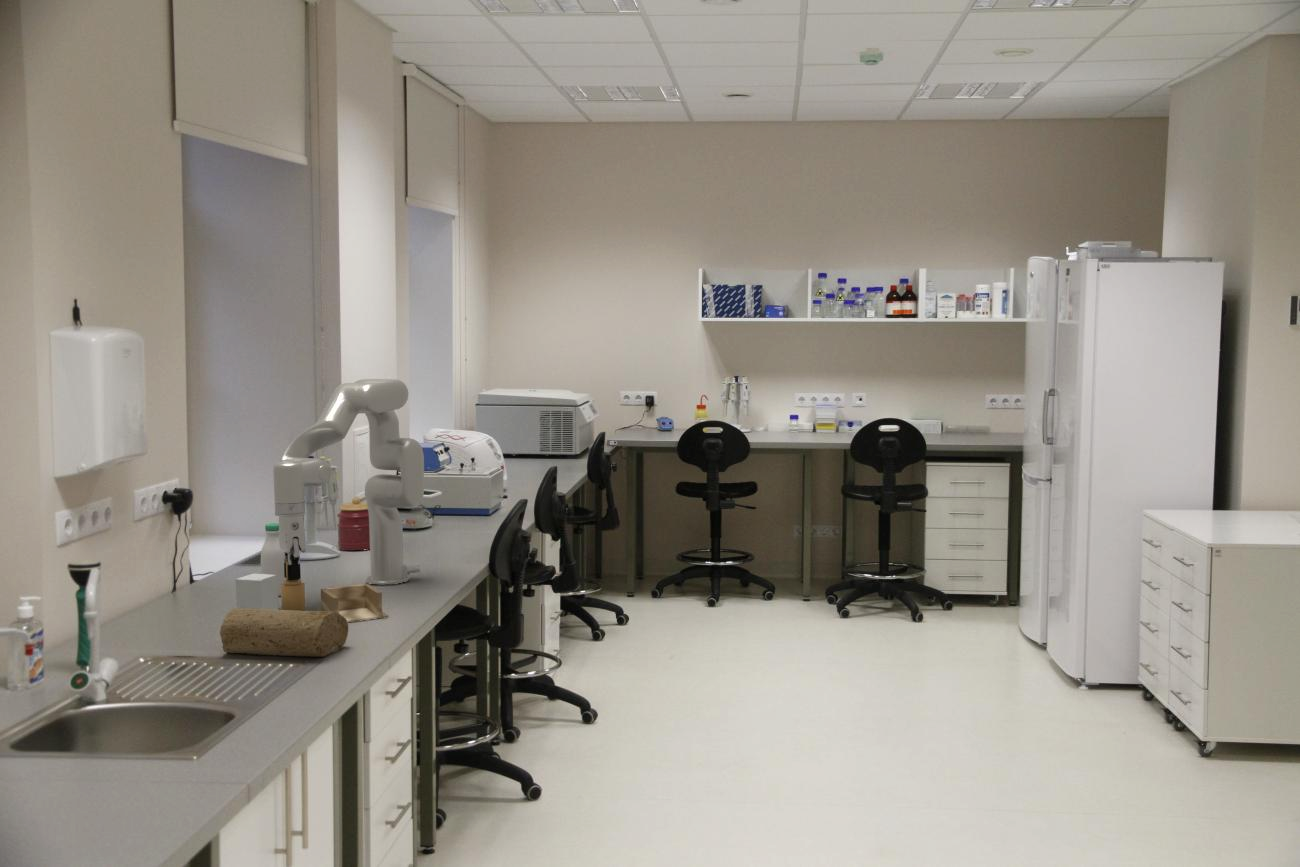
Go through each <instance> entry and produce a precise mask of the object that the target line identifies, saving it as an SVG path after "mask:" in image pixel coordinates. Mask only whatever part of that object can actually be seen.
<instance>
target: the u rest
mask: <svg viewBox="0 0 1300 867" xmlns="http://www.w3.org/2000/svg"><path fill="white" fill-rule="evenodd" d="M320 600H321V602H320V604H321V609H320V610H321V611H327V612H337V613H339V614H340V615H342V616H344V617H345V618H346V620H347V622H352V623H356V622H355V621H359V622H363V621H362V620H367V621H370V620H369V619H375V618H382V619H385V618H384V617H388V618H389V615H388V614H387V613H386V612H384V611H383V592H382V591H381V590H379V589H377V588H375V587H374V586H373V585H371V584H367V583H363V584H362V583H361V584H354V585H345V586H336V587H328V588H321V589H320ZM375 620H376V619H375Z"/></svg>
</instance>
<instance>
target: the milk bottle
mask: <svg viewBox="0 0 1300 867" xmlns="http://www.w3.org/2000/svg"><path fill="white" fill-rule="evenodd" d="M264 525H265V526H264V530H265V533H266V534H265V540H264V543H263V545H262V548H261V551H260V574H270V575H277V587H278V597H281V584H284V581H285V580H287V578H285V577H284V563H286V562H284V551H283V550H282V549H281V548H280V543H279V522H271V523H266V524H264Z"/></svg>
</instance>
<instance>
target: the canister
mask: <svg viewBox="0 0 1300 867" xmlns="http://www.w3.org/2000/svg"><path fill="white" fill-rule="evenodd" d="M351 501H352V502H347V503H344V504H342V505H341V506H340V507H339V508H338V509H339V510H340V512H338V513H337V514H336V516H337V518H338V523H337V537H338V541H337V545H338V550H340V549H341V550H340V551H343V550H364V549H370V531H369V530H370V529H369V512H368V506H367V502H366V501H361V499H360V498H359V497H358V496H355V497H353V498H352V500H351Z"/></svg>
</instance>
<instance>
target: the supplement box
mask: <svg viewBox="0 0 1300 867" xmlns="http://www.w3.org/2000/svg"><path fill="white" fill-rule="evenodd" d="M235 591H236V592H235V593H236V594H235V595H236V608H246V609H270V610H280V609H279V596H278V587H277V575H270V574H261V573H251V574H247V575H244V576H241V577H238V578H236V579H235Z"/></svg>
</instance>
